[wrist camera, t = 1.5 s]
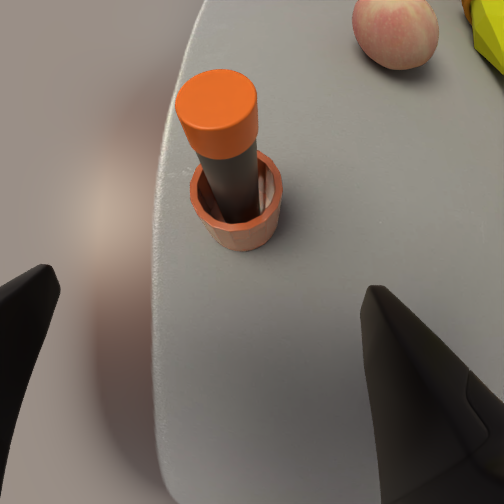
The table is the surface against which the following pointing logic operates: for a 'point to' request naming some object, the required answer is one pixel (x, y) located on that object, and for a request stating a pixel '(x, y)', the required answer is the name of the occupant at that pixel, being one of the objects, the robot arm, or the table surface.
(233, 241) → the pen cup
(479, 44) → the plumb bob
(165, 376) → the table surface
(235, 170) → the cylinder
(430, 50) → the apple
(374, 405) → the robot arm
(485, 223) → the table surface
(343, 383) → the table surface
